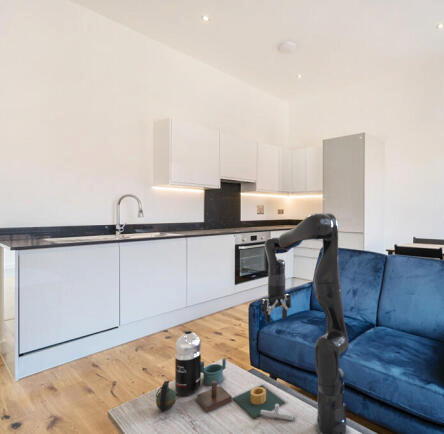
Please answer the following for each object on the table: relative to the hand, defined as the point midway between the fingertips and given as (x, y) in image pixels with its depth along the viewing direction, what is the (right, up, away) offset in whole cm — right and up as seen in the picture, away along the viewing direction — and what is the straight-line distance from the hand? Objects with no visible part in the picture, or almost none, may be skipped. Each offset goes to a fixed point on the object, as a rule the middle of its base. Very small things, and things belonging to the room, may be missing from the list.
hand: (276, 320), depth 133 cm
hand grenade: (-40, -28, -17) cm, 52 cm away
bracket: (-28, -28, +3) cm, 40 cm away
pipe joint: (+3, -28, -21) cm, 35 cm away
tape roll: (-6, -28, -11) cm, 31 cm away
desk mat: (-6, -28, -11) cm, 31 cm away
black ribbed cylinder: (-37, -28, -4) cm, 46 cm away
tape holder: (-23, -28, -11) cm, 38 cm away
